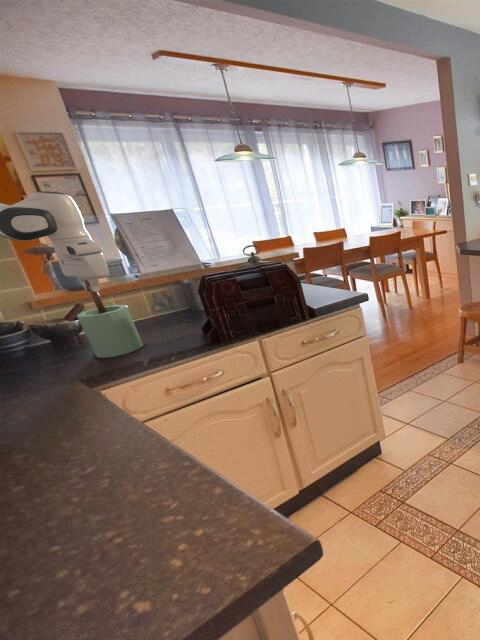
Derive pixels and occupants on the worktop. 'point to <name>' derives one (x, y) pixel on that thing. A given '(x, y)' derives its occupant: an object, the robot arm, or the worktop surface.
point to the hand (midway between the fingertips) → (93, 291)
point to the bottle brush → (96, 299)
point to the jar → (110, 331)
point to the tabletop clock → (253, 259)
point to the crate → (251, 301)
